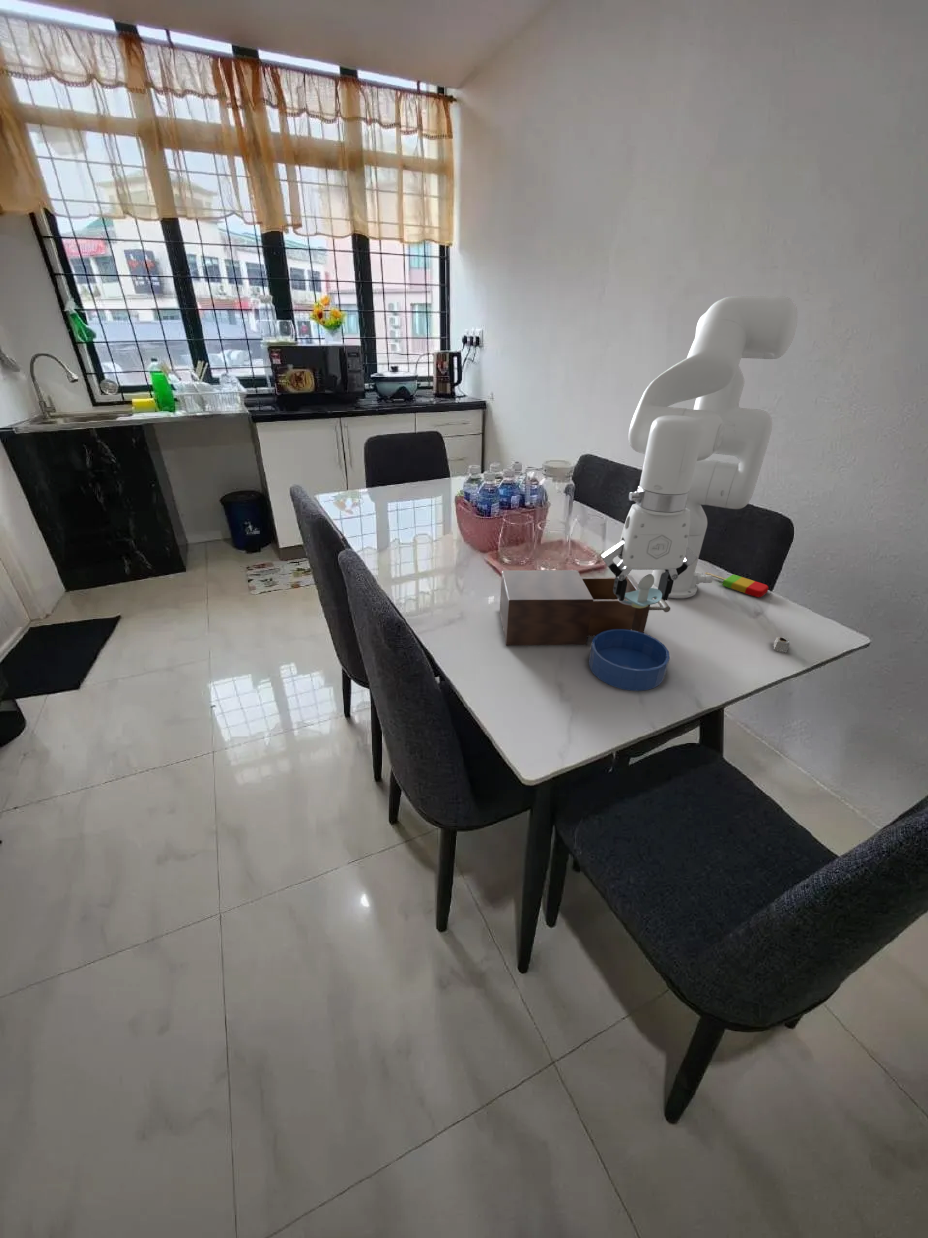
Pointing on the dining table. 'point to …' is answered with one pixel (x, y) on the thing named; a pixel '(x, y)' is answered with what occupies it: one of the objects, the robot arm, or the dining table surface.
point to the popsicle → (743, 585)
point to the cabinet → (544, 607)
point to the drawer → (615, 607)
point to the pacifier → (643, 594)
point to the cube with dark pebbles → (781, 644)
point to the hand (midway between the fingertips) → (640, 596)
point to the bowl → (628, 659)
